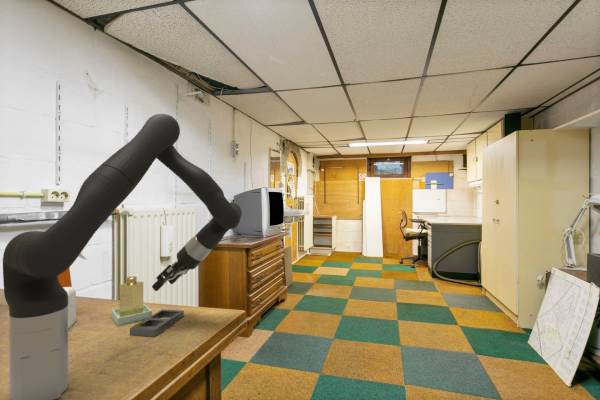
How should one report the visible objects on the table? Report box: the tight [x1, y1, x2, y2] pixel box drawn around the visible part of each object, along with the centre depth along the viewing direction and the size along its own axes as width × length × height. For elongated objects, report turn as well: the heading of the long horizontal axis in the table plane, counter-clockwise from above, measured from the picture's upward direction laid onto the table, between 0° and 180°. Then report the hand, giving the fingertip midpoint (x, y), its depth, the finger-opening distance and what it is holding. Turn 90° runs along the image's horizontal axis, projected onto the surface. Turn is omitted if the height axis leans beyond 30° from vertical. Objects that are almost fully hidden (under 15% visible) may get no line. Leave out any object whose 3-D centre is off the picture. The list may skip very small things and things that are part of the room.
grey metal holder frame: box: [129, 308, 185, 338], centre depth 98 cm, size 8×16×2 cm, turn 171°
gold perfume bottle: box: [119, 275, 144, 317], centre depth 104 cm, size 5×5×13 cm
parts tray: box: [111, 302, 153, 327], centre depth 104 cm, size 10×10×2 cm
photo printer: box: [63, 286, 77, 329], centre depth 96 cm, size 10×4×12 cm, turn 17°
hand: (162, 285), depth 101 cm, fingers open, 8 cm apart
